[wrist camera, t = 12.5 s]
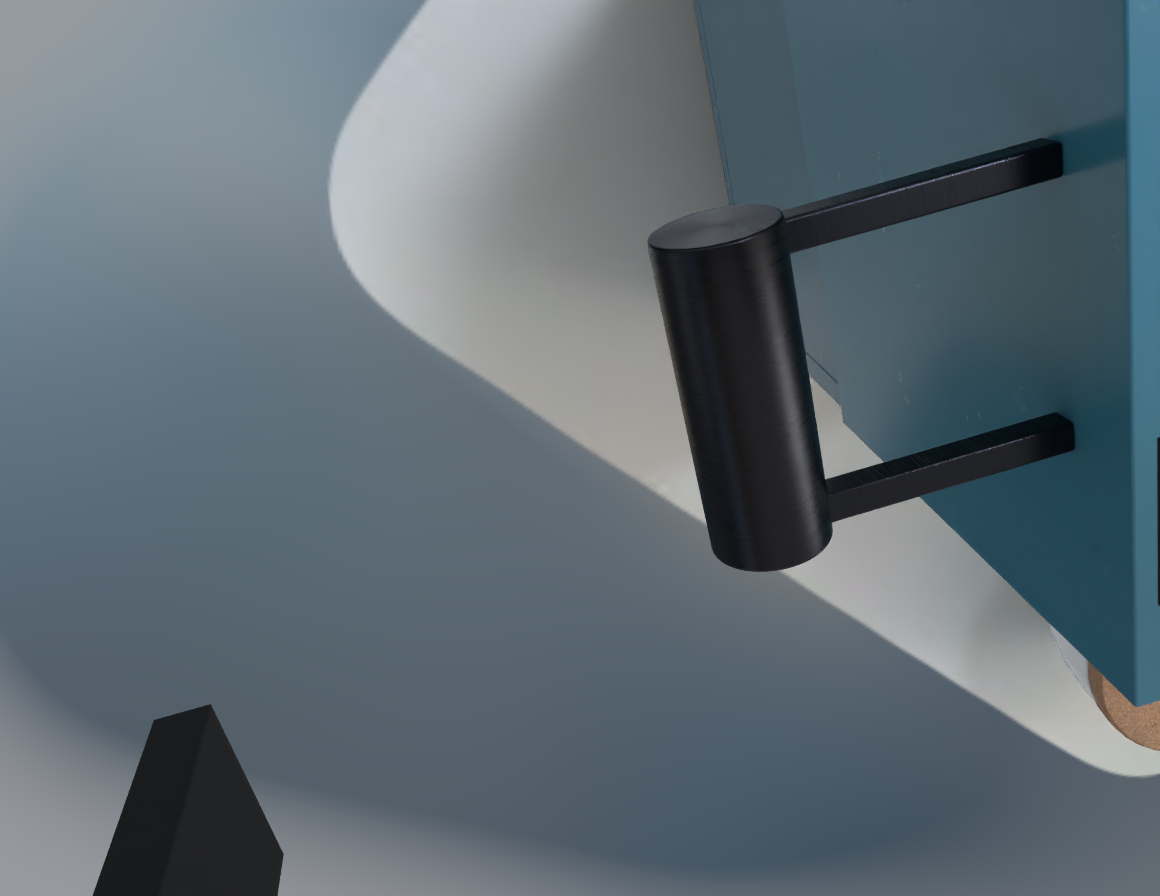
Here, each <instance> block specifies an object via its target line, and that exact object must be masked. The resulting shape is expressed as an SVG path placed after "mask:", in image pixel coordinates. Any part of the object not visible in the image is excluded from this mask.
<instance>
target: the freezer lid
mask: <svg viewBox="0 0 1160 896" xmlns="http://www.w3.org/2000/svg"><path fill="white" fill-rule="evenodd" d="M783 3H784V10H785V17H786V24H787V31H788V38H789V45H790V52H791V59H792V66H793V73H794V80H795V87H796V94H797V101H798V108H799V115H800V122H801V129H802V136H803V143H804V150H805V157H806V164H807V171H808V178H809V185H810V192H811V199H812V202H811V203H807V204H804V205H800V206H797V207H793V208H790V209H786V210H782V211H781V210H780V209H779V208H777V207H774V206H769V205H760V204H744V205H733V206H726V207H720V208H715V209H710V210H705V211H702V212H698V213H694V214H691V215H688V216H685V217H682V218H679V219H677V220H674V221H672V222H670V223H668V224H666V225H664V226H662V227H660V228H659V229H657V230H656V231H654V232H653V233H652V234H651V235H650V236H649V238H648V240H647V246H648V251H649V256H650V261H651V265H652V270H653V275H654V279H655V284H656V289H657V293H658V298H659V303H660V307H661V312H662V317H663V321H664V326H665V331H666V335H667V340H668V345H669V349H670V354H671V359H672V364H673V368H674V373H675V378H676V382H677V387H678V392H679V396H680V401H681V406H682V410H683V415H684V420H685V424H686V429H687V434H688V438H689V443H690V448H691V453H692V457H693V462H694V467H695V471H696V476H697V481H698V485H699V490H700V495H701V499H702V504H703V509H704V513H705V518H706V523H707V527H708V532H709V536H710V541H711V546H712V550H713V552H714V554H715V555H716V557H717V558H718V559H719V560H720V561H721V562H723V563H724V564H726V565H728V566H730V567H733V568H736V569H740V570H744V571H753V572H768V571H777V570H782V569H787V568H790V567H794V566H797V565H800V564H802V563H804V562H806V561H808V560H810V559H812V558H814V557H815V556H817V555H818V554H819V553H820V552H822V551H823V550H824V549H825V548H826V546H827V545H828V544H829V542H830V540H831V537H832V533H833V528H832V522H835V521H838V520H842V519H845V518H848V517H852V516H855V515H858V514H862V513H865V512H869V511H872V510H875V509H879V508H882V507H885V506H889V505H892V504H896V503H899V502H902V501H906V500H909V499H912V498H916V497H920V498H921V499H922V500H923V501H924V502H925V503H926V504H928V505H929V506H930V507H931V508H932V509H933V510H934V511H935V512H936V513H937V514H938V515H939V516H940V517H941V518H942V519H943V520H944V521H945V522H946V523H947V524H948V525H949V526H950V527H951V528H952V529H953V530H954V531H955V532H956V533H957V534H958V535H959V536H960V537H961V538H962V539H963V540H964V541H965V542H967V543H968V544H969V545H970V546H971V547H972V548H973V549H974V550H975V551H976V552H977V553H978V554H979V555H980V556H981V557H982V558H983V559H984V560H985V561H986V562H987V563H988V564H989V565H990V566H991V567H992V568H993V569H994V570H995V571H996V572H997V573H998V574H999V575H1000V576H1001V577H1002V578H1003V579H1004V580H1006V581H1007V582H1008V583H1009V584H1010V585H1011V586H1012V587H1013V588H1014V589H1015V590H1016V591H1017V592H1018V593H1019V594H1020V595H1021V596H1022V597H1023V598H1024V599H1025V600H1026V601H1027V602H1028V603H1029V604H1030V605H1031V606H1032V607H1033V608H1034V609H1035V610H1036V611H1037V612H1038V613H1039V614H1040V615H1041V616H1042V617H1043V618H1045V619H1046V620H1047V621H1048V622H1049V623H1050V624H1051V625H1052V626H1053V627H1054V628H1055V629H1056V630H1057V631H1058V632H1059V633H1060V634H1061V635H1062V636H1063V637H1064V638H1065V639H1066V640H1067V641H1068V642H1069V643H1070V644H1071V645H1072V646H1073V647H1074V648H1075V649H1076V650H1077V651H1078V652H1079V653H1080V654H1081V655H1082V656H1084V657H1085V658H1086V659H1087V660H1088V661H1089V662H1090V663H1091V664H1092V665H1093V666H1094V667H1095V668H1096V669H1097V670H1098V671H1099V672H1100V673H1101V674H1102V675H1103V676H1104V677H1105V678H1106V679H1107V680H1108V681H1109V682H1110V683H1111V684H1112V685H1113V686H1114V687H1115V688H1116V689H1117V690H1118V691H1119V692H1120V693H1121V694H1123V695H1124V696H1125V697H1126V698H1127V699H1128V700H1129V701H1130V702H1131V703H1132V704H1133V705H1134V706H1135V707H1140V706H1144V705H1147V704H1150V703H1153V702H1157V701H1160V606H1159V605H1158V543H1157V438H1159V437H1160V0H783ZM816 246H818V248H819V255H820V262H821V269H822V276H823V283H824V290H825V297H826V304H827V311H828V318H829V325H830V332H831V339H832V346H833V353H834V360H835V367H836V374H837V381H838V388H839V395H840V402H841V409H842V416H843V422H844V424H845V425H846V426H847V427H848V428H850V429H851V430H852V431H853V432H854V433H855V434H856V435H857V436H858V437H859V438H860V439H861V440H862V441H863V442H864V443H865V444H866V445H867V446H868V447H869V448H870V449H871V450H872V451H873V452H874V453H875V454H876V455H877V456H878V457H879V458H880V459H881V460H882V461H883V462H884V463H880V464H877V465H873V466H870V467H867V468H863V469H860V470H856V471H853V472H850V473H846V474H843V475H839V476H836V477H833V478H829V479H826V480H825V476H824V469H823V463H822V457H821V450H820V444H819V437H818V431H817V424H816V418H815V411H814V405H813V399H812V392H811V386H810V379H809V373H808V366H807V360H806V353H805V347H804V340H803V334H802V328H801V321H800V315H799V308H798V302H797V295H796V289H795V282H794V276H793V270H792V263H791V257H790V254H791V253H795V252H798V251H802V250H806V249H809V248H813V247H816Z"/></svg>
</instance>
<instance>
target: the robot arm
mask: <svg viewBox="0 0 1160 896" xmlns="http://www.w3.org/2000/svg"><path fill="white" fill-rule="evenodd" d="M1157 543H1158V605H1159V606H1160V437H1159V438H1157ZM283 855H284V854H283V852H282V850H281V848H280V846H279V844H278V842H277V840H276V837H275V836H274V833H273V831H272V829H271V827H270V825H269V823H268V821H267V819H266V817H265V815H264V813H263V811H262V809H261V807H260V805H259V802H258V800H257V798H256V796H255V794H254V792H253V790H252V788H251V786H250V784H249V782H248V780H247V778H246V776H245V774H244V772H243V770H242V768H241V765H240V763H239V761H238V759H237V757H236V755H235V753H234V751H233V749H232V747H231V745H230V743H229V741H228V739H227V737H226V735H225V733H224V730H223V729H222V727H221V724H220V723H219V720H218V718H217V716H216V715H215V712H214V710H213V708H212V706H211V704H210V705H206V706H203V707H199V708H195V709H192V710H189V711H185V712H181V713H178V714H174V715H171V716H167V717H164V718H160V719H156V720H154V722H153V725H152V727H151V730H150V733H149V736H148V739H147V742H146V745H145V748H144V751H143V753H142V756H141V759H140V762H139V765H138V767H137V770H136V773H135V776H134V779H133V782H132V785H131V788H130V790H129V793H128V796H127V799H126V802H125V805H124V807H123V810H122V813H121V816H120V819H119V822H118V825H117V828H116V830H115V833H114V836H113V839H112V842H111V845H110V848H109V850H108V853H107V856H106V859H105V862H104V865H103V868H102V870H101V873H100V876H99V879H98V882H97V885H96V888H95V890H94V893H93V896H277V895H278V888H279V881H280V875H281V868H282V861H283Z"/></svg>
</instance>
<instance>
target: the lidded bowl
mask: <svg viewBox="0 0 1160 896" xmlns="http://www.w3.org/2000/svg"><path fill="white" fill-rule="evenodd" d="M1049 624H1050V623H1049ZM1050 628H1051V632H1052V636H1053V639H1054V641H1055V643H1056V645H1057V648H1058V650H1059V652H1060V654H1061V656H1062V658H1063V660H1064V662H1065V663H1066V665H1067V666H1068V668H1069V669H1070V671H1071V672H1072V674H1073V675H1074V677H1075V678H1076V679H1077V681H1078V682H1079V683H1080V685H1081V686H1082V687H1083V689H1084V690H1085V691H1086V692H1087V693H1088V694H1089V696H1090V697H1091V698H1092V699H1093V700H1094V701H1095V702H1096V704H1097V706H1098V707H1099V709H1100V710H1101V711H1102V713H1103V714H1104V715H1105V717H1106V718H1107V719H1108V720H1109V722H1110V723H1111V724H1112V725H1113V726H1114V727H1115V728H1116V729H1117V730H1118V731H1119V732H1121V733H1122V734H1123V735H1124V736H1125V737H1126V738H1128V739H1130V740H1132V741H1133V742H1135V743H1137V744H1139V745H1141V746H1145V747H1148V748H1151V749H1154V750H1159V751H1160V701H1157V702H1153V703H1150V704H1147V705H1144V706H1140V707H1135V706H1134V705H1133V704H1132V703H1131V702H1130V701H1129V700H1128V699H1127V698H1126V697H1125V696H1124V695H1123V694H1121V693H1120V692H1119V691H1118V690H1117V689H1116V688H1115V687H1114V686H1113V685H1112V684H1111V683H1110V682H1109V681H1108V680H1107V679H1106V678H1105V677H1104V676H1103V675H1102V674H1101V673H1100V672H1099V671H1098V670H1097V669H1096V668H1095V667H1094V666H1093V665H1092V664H1091V663H1090V662H1089V661H1088V660H1087V659H1086V658H1085V657H1084V656H1082V655H1081V654H1080V653H1079V652H1078V651H1077V650H1076V649H1075V648H1074V647H1073V646H1072V645H1071V644H1070V643H1069V642H1068V641H1067V640H1066V639H1065V638H1064V637H1063V636H1062V635H1061V634H1060V633H1059V632H1058V631H1057V630H1056V629H1055V628H1054V627H1053V626H1052V625H1051V624H1050Z"/></svg>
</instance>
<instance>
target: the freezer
mask: <svg viewBox="0 0 1160 896" xmlns="http://www.w3.org/2000/svg"><path fill="white" fill-rule="evenodd" d="M694 5H695V11H696V17H697V22H698V28H699V34H700V39H701V45H702V51H703V56H704V62H705V68H706V73H707V79H708V85H709V90H710V96H711V102H712V107H713V113H714V119H715V124H716V130H717V136H718V141H719V147H720V153H721V158H722V164H723V170H724V175H725V181H726V187H727V192H728V198H729V204H730V206H733V205H744V204H760V205H769V206H774V207H777V208H779V209H780V210H781V211H782V210H786V209H790V208H793V207H797V206H800V205H804V204H807V203H811V202H812V199H811V192H810V185H809V178H808V171H807V164H806V157H805V150H804V143H803V136H802V129H801V122H800V115H799V108H798V101H797V94H796V87H795V80H794V73H793V66H792V59H791V52H790V45H789V38H788V31H787V24H786V17H785V10H784V3H783V0H694ZM790 257H791V263H792V270H793V276H794V282H795V289H796V295H797V302H798V308H799V315H800V321H801V328H802V334H803V340H804V347H805V353H806V360H807V366H808V373H809V375H810V376H811V377H812V378H813V379H814V380H815V381H816V382H817V383H818V384H819V385H820V386H821V387H822V388H823V389H824V390H825V391H826V392H827V393H828V394H829V395H830V396H831V397H832V398H833V399H834V400H835V401H836V402H837V403H838V404H839V405H840V406H841V402H840V395H839V388H838V381H837V374H836V367H835V360H834V353H833V346H832V339H831V332H830V325H829V318H828V311H827V304H826V297H825V290H824V283H823V276H822V269H821V262H820V255H819V248H818V246H816V247H813V248H809V249H806V250H802V251H798V252H795V253H791V254H790Z"/></svg>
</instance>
